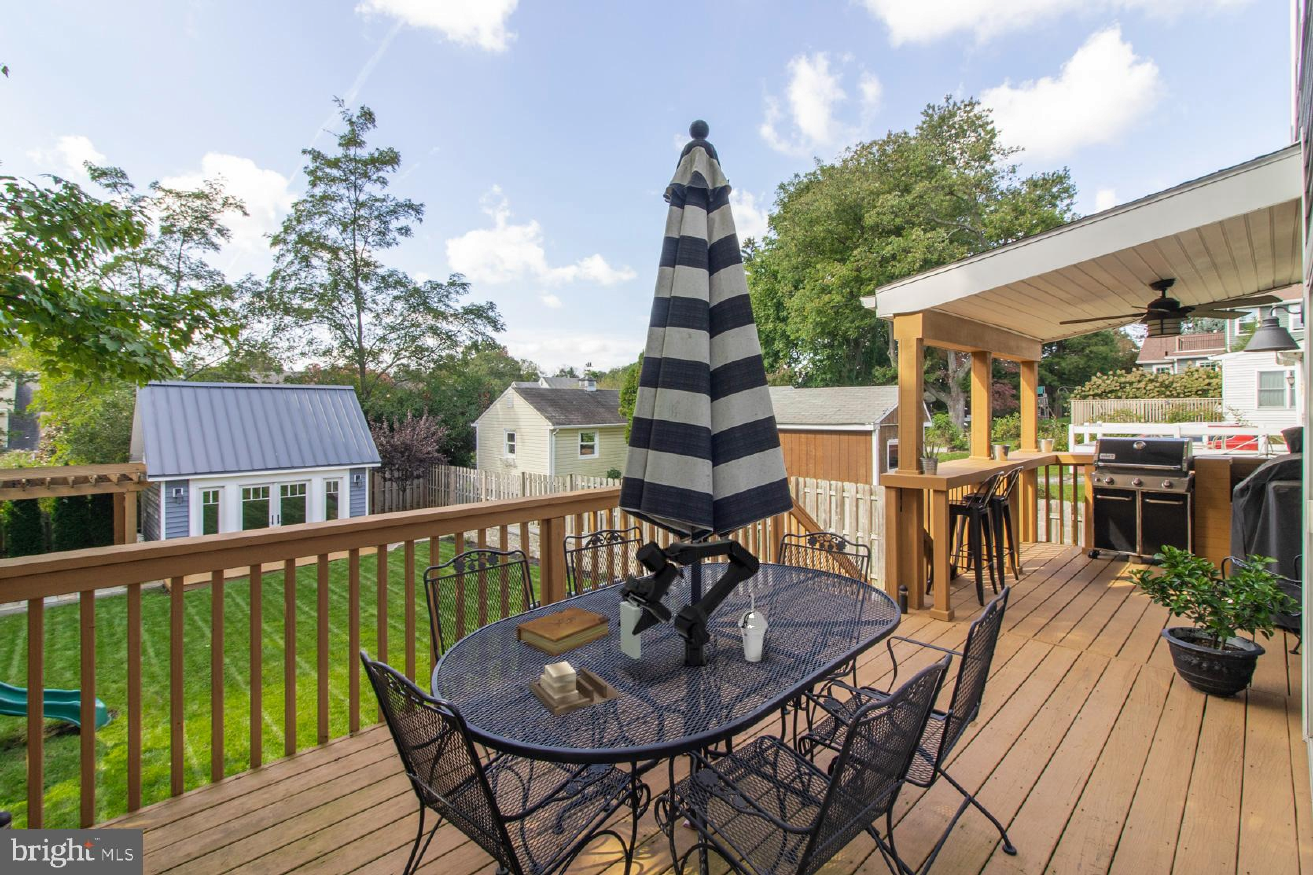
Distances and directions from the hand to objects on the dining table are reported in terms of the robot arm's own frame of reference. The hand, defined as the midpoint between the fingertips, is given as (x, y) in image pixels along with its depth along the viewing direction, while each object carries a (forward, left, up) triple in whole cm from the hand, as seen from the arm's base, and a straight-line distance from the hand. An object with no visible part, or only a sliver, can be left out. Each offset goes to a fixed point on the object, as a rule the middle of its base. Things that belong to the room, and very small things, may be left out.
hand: (625, 630), depth 154 cm
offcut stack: (+10, -16, -13) cm, 23 cm away
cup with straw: (-13, +36, -14) cm, 41 cm away
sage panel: (-1, +1, -7) cm, 7 cm away
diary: (-32, -21, -14) cm, 40 cm away
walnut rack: (+7, -12, -13) cm, 20 cm away
